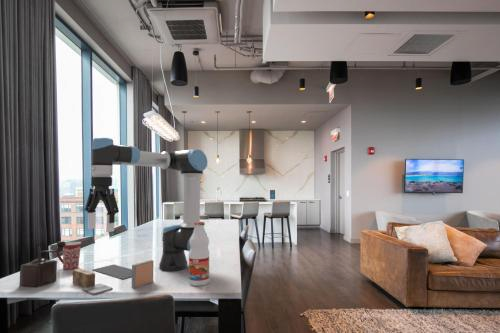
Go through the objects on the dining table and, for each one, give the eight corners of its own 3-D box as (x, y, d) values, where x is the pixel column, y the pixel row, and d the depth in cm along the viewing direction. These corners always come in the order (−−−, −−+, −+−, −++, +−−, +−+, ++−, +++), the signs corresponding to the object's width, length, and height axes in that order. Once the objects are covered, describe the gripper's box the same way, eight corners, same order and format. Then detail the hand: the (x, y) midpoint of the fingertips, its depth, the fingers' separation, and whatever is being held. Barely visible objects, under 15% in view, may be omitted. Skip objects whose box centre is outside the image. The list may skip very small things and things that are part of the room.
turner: (66, 284, 135) (67, 271, 135) (84, 279, 142) (84, 267, 142) (94, 295, 122) (94, 280, 122) (112, 289, 128) (112, 275, 129)
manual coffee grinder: (38, 287, 131) (40, 247, 132) (18, 286, 133) (20, 246, 134) (66, 276, 146) (68, 240, 147) (48, 275, 148) (49, 239, 149)
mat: (113, 265, 167) (113, 264, 167) (144, 273, 151) (144, 272, 151) (92, 270, 157) (92, 269, 157) (122, 279, 141) (122, 278, 141)
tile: (150, 281, 139) (150, 259, 139) (153, 282, 138) (153, 260, 138) (131, 287, 130) (132, 264, 131) (134, 288, 129) (134, 265, 130)
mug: (84, 265, 166) (84, 241, 167) (73, 270, 157) (74, 245, 157) (62, 265, 166) (63, 241, 167) (51, 270, 157) (51, 244, 158)
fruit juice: (212, 280, 139) (212, 221, 141) (204, 287, 130) (204, 224, 132) (194, 278, 142) (194, 220, 144) (185, 285, 133) (185, 223, 134)
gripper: (76, 176, 121) (75, 228, 119) (110, 175, 107) (109, 234, 105) (94, 177, 127) (93, 226, 126) (129, 176, 113) (127, 231, 112)
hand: (100, 230), depth 115 cm, fingers open, 13 cm apart
